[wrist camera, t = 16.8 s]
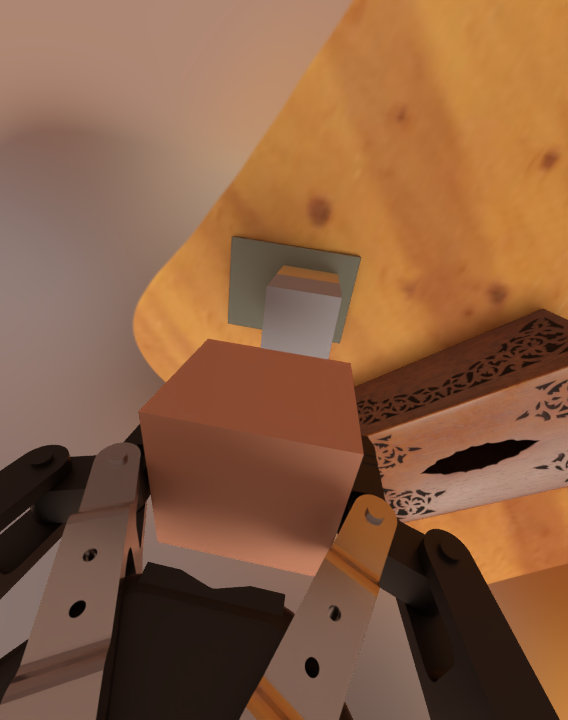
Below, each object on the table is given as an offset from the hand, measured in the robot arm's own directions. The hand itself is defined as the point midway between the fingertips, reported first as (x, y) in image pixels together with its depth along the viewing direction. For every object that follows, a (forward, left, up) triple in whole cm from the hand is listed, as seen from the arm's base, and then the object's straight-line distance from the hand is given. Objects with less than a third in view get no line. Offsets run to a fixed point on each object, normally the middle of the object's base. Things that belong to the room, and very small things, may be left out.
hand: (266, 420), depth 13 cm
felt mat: (0, -2, -24) cm, 24 cm away
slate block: (0, 0, -18) cm, 18 cm away
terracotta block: (0, 0, -1) cm, 1 cm away
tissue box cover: (+11, +20, -24) cm, 34 cm away
